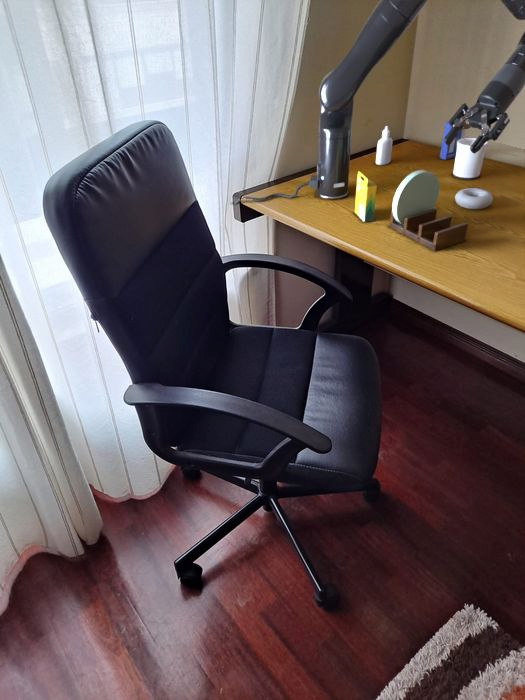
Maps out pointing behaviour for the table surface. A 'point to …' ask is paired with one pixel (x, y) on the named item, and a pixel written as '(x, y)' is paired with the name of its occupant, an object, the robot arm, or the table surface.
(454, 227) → the rack
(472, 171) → the mug
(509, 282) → the table surface
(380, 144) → the eye dropper bottle
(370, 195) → the crayon box
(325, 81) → the robot arm
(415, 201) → the plate
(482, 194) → the donut
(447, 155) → the walkman
